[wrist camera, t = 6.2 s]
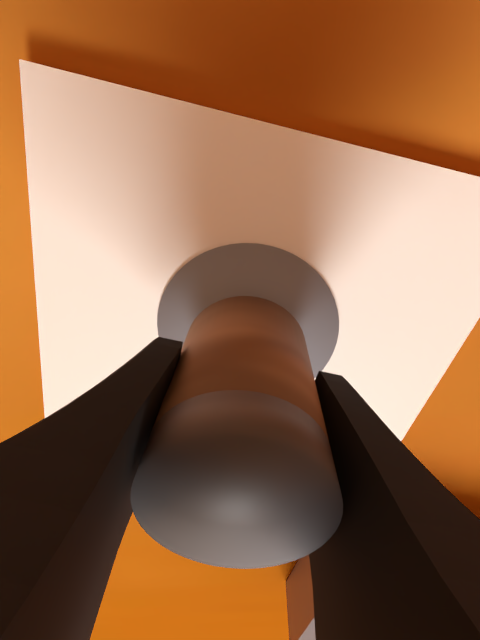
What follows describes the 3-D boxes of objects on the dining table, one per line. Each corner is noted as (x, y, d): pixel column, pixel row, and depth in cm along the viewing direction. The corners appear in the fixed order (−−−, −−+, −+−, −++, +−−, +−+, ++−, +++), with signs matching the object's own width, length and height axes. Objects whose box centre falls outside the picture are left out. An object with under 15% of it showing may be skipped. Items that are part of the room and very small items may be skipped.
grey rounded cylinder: (322, 311, 9) (378, 460, 5) (286, 406, 11) (304, 580, 7) (196, 283, 9) (138, 413, 5) (178, 384, 11) (124, 550, 7)
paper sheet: (542, 193, 9) (558, 196, 9) (370, 473, 15) (374, 485, 14) (31, 63, 9) (16, 58, 8) (51, 411, 14) (43, 421, 14)
